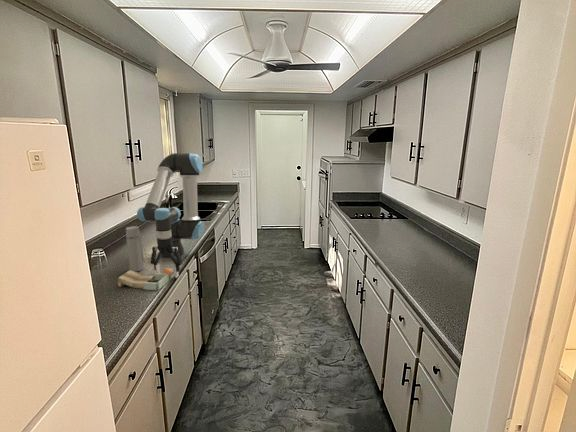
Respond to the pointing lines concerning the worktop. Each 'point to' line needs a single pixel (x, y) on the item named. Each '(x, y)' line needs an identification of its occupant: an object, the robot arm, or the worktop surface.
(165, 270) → the ball
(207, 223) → the worktop surface
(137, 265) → the water bottle
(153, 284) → the tray
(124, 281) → the ramp lane
